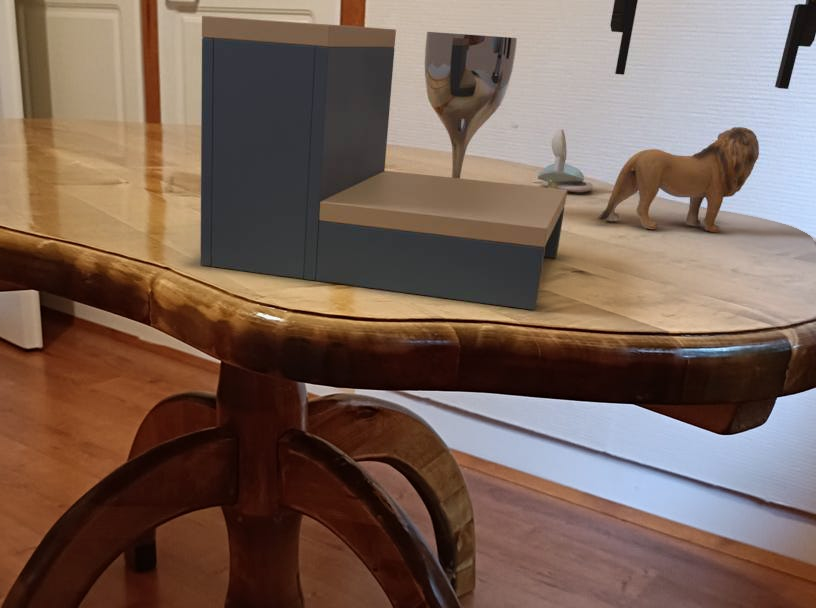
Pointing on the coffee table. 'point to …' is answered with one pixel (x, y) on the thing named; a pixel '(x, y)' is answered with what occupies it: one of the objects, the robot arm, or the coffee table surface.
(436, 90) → the wine glass
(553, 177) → the pacifier
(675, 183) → the lion figurine
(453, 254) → the two-step block
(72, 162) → the coffee table surface
